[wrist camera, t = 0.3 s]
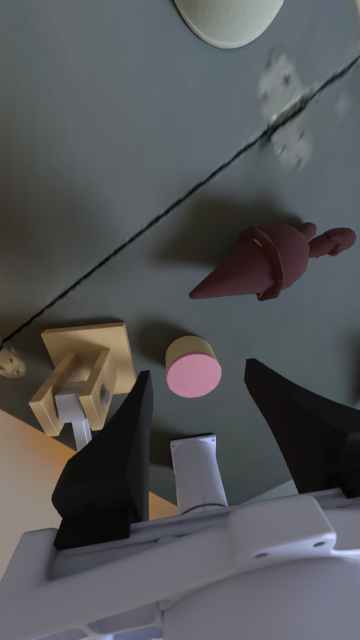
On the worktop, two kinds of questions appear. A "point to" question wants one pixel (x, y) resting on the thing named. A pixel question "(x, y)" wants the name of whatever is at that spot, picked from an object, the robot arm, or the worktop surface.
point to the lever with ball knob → (74, 412)
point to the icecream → (271, 260)
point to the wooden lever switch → (85, 371)
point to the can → (228, 19)
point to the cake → (191, 367)
